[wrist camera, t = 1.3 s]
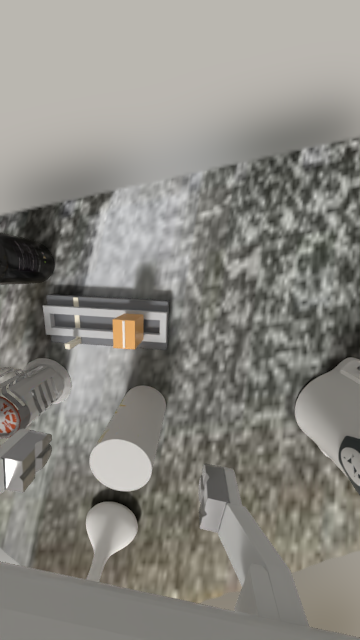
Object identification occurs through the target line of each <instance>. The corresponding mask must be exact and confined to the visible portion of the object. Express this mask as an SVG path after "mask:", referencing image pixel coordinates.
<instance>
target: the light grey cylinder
mask: <svg viewBox="0 0 360 640" xmlns="http://www.w3.org/2000/svg"><path fill="white" fill-rule="evenodd" d="M165 411H166V402H165V399H164V397H163V395H162V394H161V393H160V392H159V391H158V390H156V389H155V388H153V387H150V386H144V385H142V386H136V387H134V388H132V389H130V390H129V391H128V392H127V394H126V395H125V397H124V399H123V400H122V402H121V404H120V405H119V407H118V409H117V410H116V412H115V414H114V415H113V417H112V419H111V420H110V422H109V424H108V425H107V427H106V429H105V430H104V432H103V434H102V435H101V437H100V439H99V440H98V442H97V444H96V446H95V447H94V449H93V451H92V452H91V455H90V467H91V470H92V472H93V474H94V476H95V477H96V478H97V479H98V480H99V481H100V482H101V483H102V484H104V485H105V486H107V487H109V488H111V489H114V490H118V491H133V490H136V489H139V488H141V487H142V486H144V485H145V484H146V483H147V482H148V480H149V479H150V477H151V473H152V468H153V464H154V460H155V455H156V451H157V446H158V442H159V437H160V433H161V428H162V424H163V419H164V415H165Z"/></svg>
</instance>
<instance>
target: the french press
mask: <svg viewBox="0 0 360 640" xmlns="http://www.w3.org/2000/svg"><path fill="white" fill-rule="evenodd" d="M3 369H10V371H7V372H5V373H3V374H2V375H0V377H2V376H3V375H5V374H7V373H9V372H13V371H14V372H15V373H16V376H14V377H13V378H11V379H9V380H7V381H5V382H3V383H1V384H0V388H2V387H3V388H2V394H3V395H4V396H5V397H6V398H8V399H9V400H10V401H12V402H13V403H14V404H15V405H16V406H17V407H18V409H19V410H17V409H16V407H15V406H14V405H13V404H12V403H11V402H10V401H8V400H7V399H6V398H3V397H0V439H1V438H9V437H11V436H13V435H14V434H15V433H16V432H17V431H18V430H20V429H22V428H24V429H25V428H26V427H27V426H28V425H30V424H31V423H32V422H33V421H34V420H35V419H36V418H37V417H38V416H40V415H41V414H42V413H43V412H44V411H45V410H47V409H48V408H49V407H50V406H51V405H52V404H58V403H60V402H62V401H65V399H66V398H67V397H68V396H69V395H70V392H71V387H72V384H71V379H70V376H69V374H68V373H67V371H66V370H65V368H64V367H63V366H61V365H60V364H59V363H58V362H56V361H53V360H51V359H48V358H37V359H35V360H33V361H31V362H29V363H28V365H27V366H26V368H25V369H24V370H21V369H13V368H11V367H4V368H0V370H3ZM17 371H22V373H20V374H19V373H18V372H17ZM16 379H17V380H16ZM15 380H16V383H15V384H14V385H13V382H14V381H15ZM9 383H10V384H9ZM7 384H9V388H7V389H9V390H10V391H11V392H13V393H14V394H15V395H16V396H17V397H19V398H20V399H21V400H22V401H23V402H24V403H25V406H22V405H21V404H20V403H19V402H18V401H17V400H16V399H15V398H13V397H12V396H11V395H9V394H8V393H7V391H6V386H7ZM47 407H48V408H47ZM45 408H47V409H45ZM41 412H42V413H41ZM39 413H41V414H39Z"/></svg>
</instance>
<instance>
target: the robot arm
mask: <svg viewBox="0 0 360 640" xmlns="http://www.w3.org/2000/svg"><path fill="white" fill-rule="evenodd" d="M358 367H359V368H358ZM295 417H296V421H297V423H298V425H299V427H300V428H301V430H302V431H303V432H304V433H305V434H306V435H308V436H309V437H310V438H311V439H312V440H313V441H314V442H315V443H316V444H317V445H318V447H319V449H320V450H321V451H322V452H323V453H324V455H325V456H327V457H330V458H331V460H332V461H333V462H334V463H335V464H336V465H337V466H338V467H339V468H340V470H341V471H342V472H343V473H344V474H345V475H346V476H347V477H348V478H349V480H350V481H351V483H352V484H353V486H354V488H355V489H356V491H357V492H358V493H359V495H360V359H357V358H353V357H349V358H346V359H344V360H343V361H342V362H340V363H339V364H338V365H337V366H336V367H335V368H334V369H333V370H331V371H330V372H328V373H325V374H323V375H321V376H319V377H317V378H315V379H314V380H313V381H311V382H310V383H309V384H308V385H307V386H306V387H305V388H304V389H303V390H302V392H301V393H300V395H299V397H298V399H297V402H296V406H295ZM51 440H52V435H51V434H47V433H43V432H38V431H34V430H29V429H24V428H22V429H20V430H18V431H17V432H16V433H15V434H14V435H13V436H11V437H10V438H9V439H8V440H7V441H6V442H4V443H3V444H2V445H1V446H0V494H1V493H3V492H4V491H5V490H9V491H16V492H22V493H23V492H24V491H25V490H26V489H27V487H28V486H29V485H30V483H31V482H32V481H33V480H34V478H35V473H36V472H37V471H39V470H41V469H42V468H43V467H44V466H45V464H46V463H47V461H48V459H49V457H50V455H51V451H52V447H51V445H50V444H49V443H50V441H51ZM202 473H203V475H201V477H200V482H199V501H200V503H201V505H200V509H199V520H200V529H204V530H209V531H213V532H217V533H218V535H219V537H220V539H221V542H222V544H223V546H224V548H225V550H226V553H227V555H228V557H229V559H230V561H231V563H232V566H233V568H234V570H235V572H236V574H237V576H238V579H239V581H240V583H241V585H242V589H241V592H240V595H239V597H238V600H237V603H236V605H235V611H231V610H227V609H222V608H218V607H213V606H208V605H203V604H199V603H194V602H189V601H185V600H180V599H175V598H170V597H166V596H161V595H156V594H152V593H147V592H142V591H138V590H133V589H128V588H123V587H119V586H114V585H109V584H105V583H100V582H95V581H90V580H86V579H81V578H76V577H72V576H67V575H62V574H57V573H53V572H48V571H43V570H38V569H34V568H29V567H24V566H19V565H15V564H10V563H4V562H0V640H360V637H356V636H351V635H346V634H341V633H337V632H332V631H327V630H322V629H318V628H313V627H309V625H308V622H307V619H306V615H305V613H304V610H303V607H302V604H301V601H300V598H299V595H298V592H297V589H296V586H295V583H294V580H293V577H292V574H291V571H290V569H289V568H288V566H287V565H286V564H285V562H284V561H283V559H282V558H281V556H280V555H279V554H278V552H277V551H276V549H275V548H274V547H273V545H272V544H271V542H270V541H269V540H268V538H267V537H266V535H265V534H264V532H263V531H262V530H261V528H260V527H259V525H258V524H257V523H256V521H255V520H254V518H253V517H252V515H251V514H250V513H249V511H248V510H247V508H246V507H245V506H242V503H241V499H240V494H239V490H238V485H237V481H236V477H235V472H234V470H233V469H230V468H225V467H220V466H215V465H209V464H204V465H203V469H202Z"/></svg>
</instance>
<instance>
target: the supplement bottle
mask: <svg viewBox="0 0 360 640" xmlns="http://www.w3.org/2000/svg"><path fill="white" fill-rule="evenodd" d="M53 269H54V261H53V257H52V255H51V253H50V252H49V250H48V249H47V248H46V247H45V246H44V245H43V244H41V243H39V242H37V241H34V240H30V239H26V238H21V237H17V236H13V235H9V234H4V233H0V285H4V284H29V283H41V282H44V281H46V280H47V279H48V278H49V277H50V276H51V275H52V273H53Z"/></svg>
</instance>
